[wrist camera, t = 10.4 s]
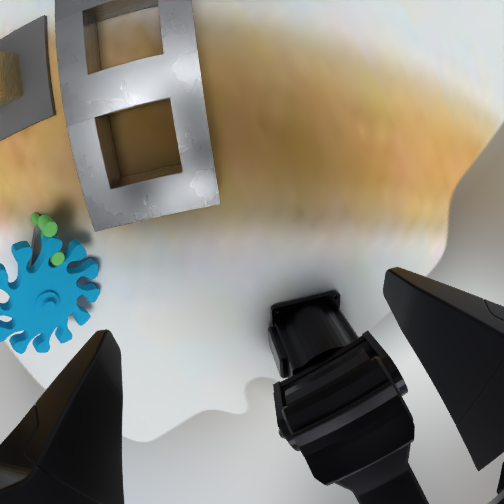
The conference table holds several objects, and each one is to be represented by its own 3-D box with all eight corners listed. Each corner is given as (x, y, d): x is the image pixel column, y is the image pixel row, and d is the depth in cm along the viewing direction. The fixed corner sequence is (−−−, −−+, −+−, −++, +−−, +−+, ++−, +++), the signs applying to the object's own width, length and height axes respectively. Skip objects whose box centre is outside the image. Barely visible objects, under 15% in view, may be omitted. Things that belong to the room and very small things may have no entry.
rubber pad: (46, 16, 11) (44, 15, 11) (55, 114, 15) (53, 114, 15) (-32, 63, 10) (-34, 63, 10) (-21, 152, 14) (-24, 153, 14)
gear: (93, 345, 22) (-7, 370, 13) (63, 306, 24) (-25, 319, 15) (122, 228, 20) (-10, 224, 11) (86, 199, 22) (-20, 189, 13)
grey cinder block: (186, -26, 12) (186, -45, 10) (216, 190, 20) (220, 204, 17) (71, 5, 11) (54, -7, 9) (106, 214, 19) (95, 231, 16)
